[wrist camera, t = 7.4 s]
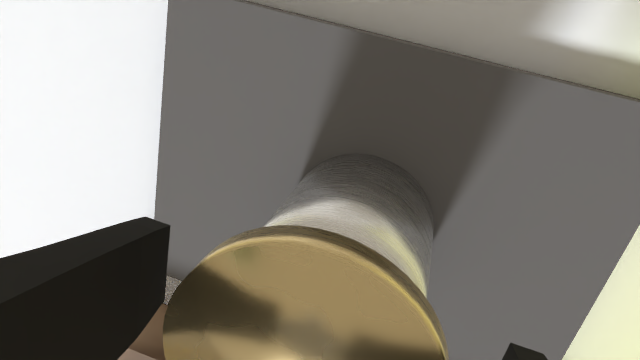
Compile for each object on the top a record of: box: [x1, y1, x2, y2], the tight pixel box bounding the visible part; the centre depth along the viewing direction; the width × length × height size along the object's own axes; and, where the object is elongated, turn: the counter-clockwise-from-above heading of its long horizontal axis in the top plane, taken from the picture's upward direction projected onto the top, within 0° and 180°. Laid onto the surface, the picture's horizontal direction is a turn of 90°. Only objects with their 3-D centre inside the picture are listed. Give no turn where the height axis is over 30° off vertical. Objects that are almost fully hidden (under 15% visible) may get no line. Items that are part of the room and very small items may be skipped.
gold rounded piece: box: [163, 153, 449, 360], centre depth 11 cm, size 5×5×6 cm
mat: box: [154, 0, 640, 360], centre depth 14 cm, size 14×10×1 cm
